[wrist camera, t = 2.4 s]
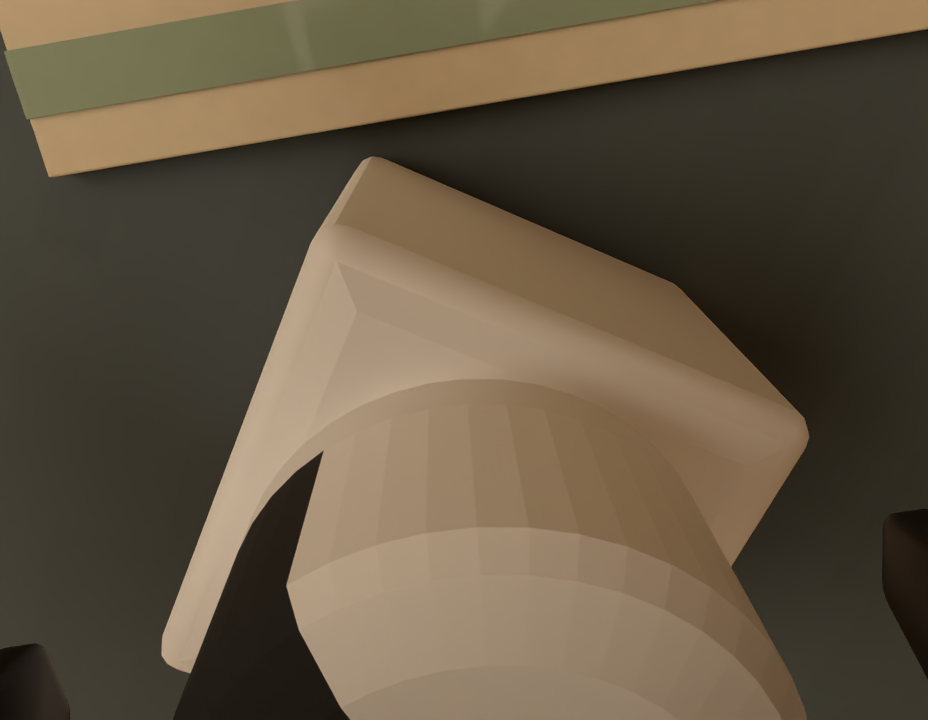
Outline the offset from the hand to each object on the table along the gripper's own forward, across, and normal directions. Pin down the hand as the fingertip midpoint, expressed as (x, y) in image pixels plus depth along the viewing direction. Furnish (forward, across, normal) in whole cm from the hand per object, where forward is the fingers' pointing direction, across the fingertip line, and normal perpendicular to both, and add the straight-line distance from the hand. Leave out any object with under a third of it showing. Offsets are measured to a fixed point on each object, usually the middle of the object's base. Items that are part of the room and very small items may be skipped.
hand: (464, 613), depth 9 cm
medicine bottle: (+10, 0, +1) cm, 10 cm away
